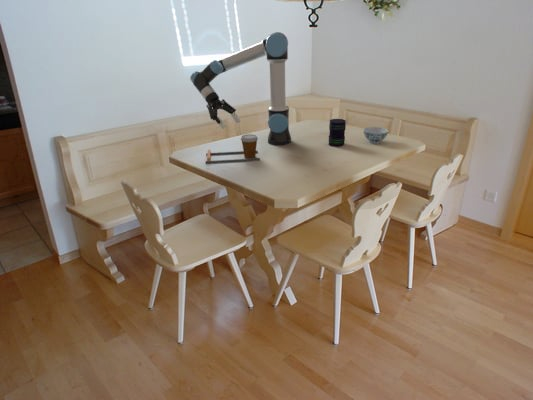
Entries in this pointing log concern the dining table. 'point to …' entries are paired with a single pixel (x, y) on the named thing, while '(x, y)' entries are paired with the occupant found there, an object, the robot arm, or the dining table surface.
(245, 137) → the disposable coffee cup
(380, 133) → the chinaware
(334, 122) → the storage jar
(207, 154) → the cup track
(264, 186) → the dining table surface
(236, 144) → the dining table surface
